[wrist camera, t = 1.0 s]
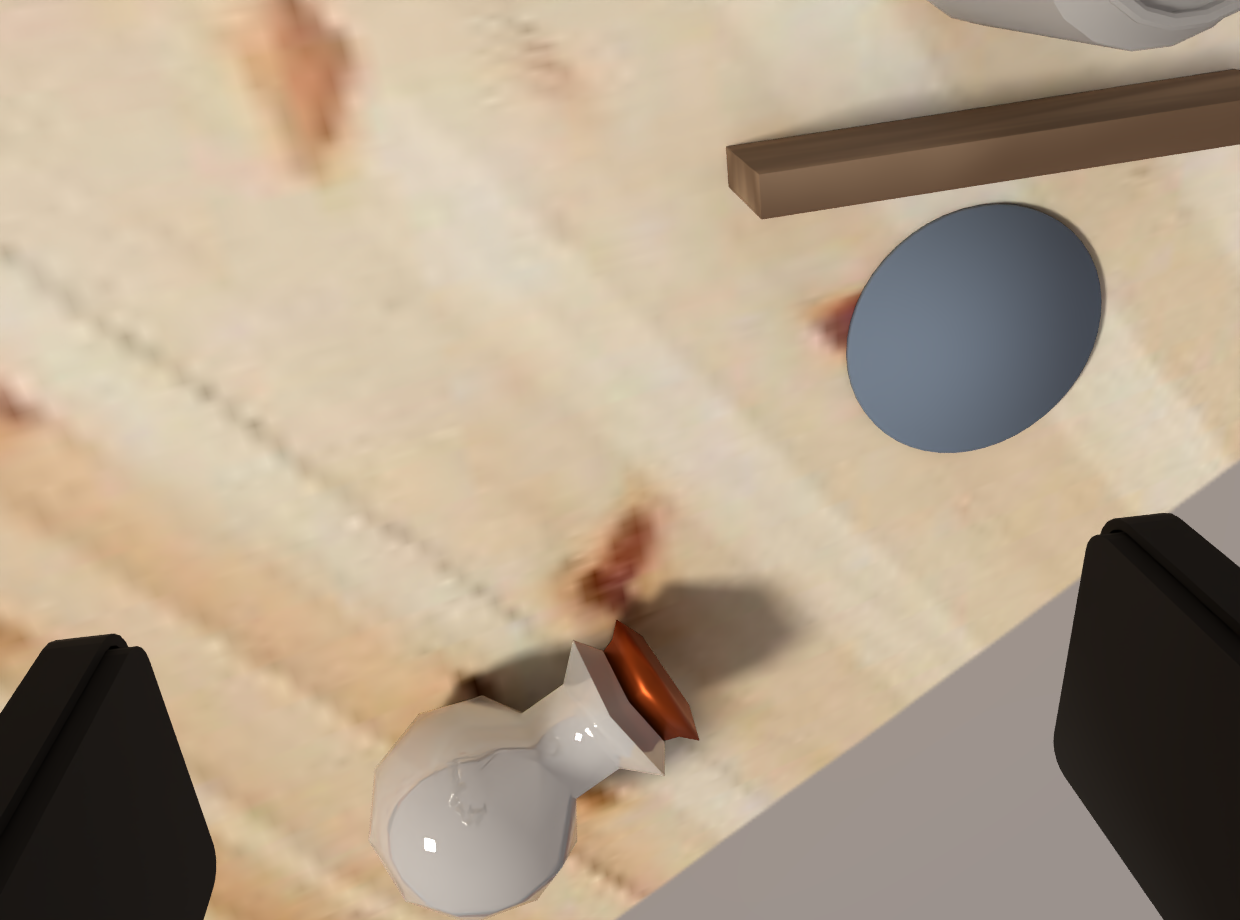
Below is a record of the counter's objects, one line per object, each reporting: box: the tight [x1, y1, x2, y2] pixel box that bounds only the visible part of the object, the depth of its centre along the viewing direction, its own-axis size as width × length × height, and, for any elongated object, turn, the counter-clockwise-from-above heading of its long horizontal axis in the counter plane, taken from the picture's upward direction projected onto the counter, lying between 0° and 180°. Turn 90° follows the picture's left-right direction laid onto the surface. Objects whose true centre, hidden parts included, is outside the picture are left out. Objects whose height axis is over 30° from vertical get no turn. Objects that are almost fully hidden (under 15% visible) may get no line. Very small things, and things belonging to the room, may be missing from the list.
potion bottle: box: [369, 620, 699, 920], centre depth 45 cm, size 9×10×15 cm
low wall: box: [726, 69, 1240, 219], centre depth 36 cm, size 2×20×5 cm, turn 97°
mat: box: [846, 204, 1101, 453], centre depth 42 cm, size 11×11×1 cm
